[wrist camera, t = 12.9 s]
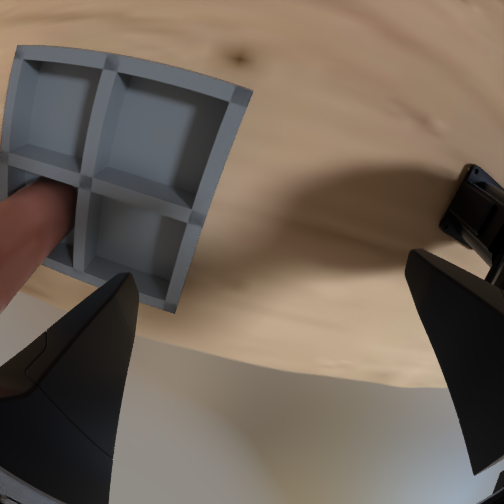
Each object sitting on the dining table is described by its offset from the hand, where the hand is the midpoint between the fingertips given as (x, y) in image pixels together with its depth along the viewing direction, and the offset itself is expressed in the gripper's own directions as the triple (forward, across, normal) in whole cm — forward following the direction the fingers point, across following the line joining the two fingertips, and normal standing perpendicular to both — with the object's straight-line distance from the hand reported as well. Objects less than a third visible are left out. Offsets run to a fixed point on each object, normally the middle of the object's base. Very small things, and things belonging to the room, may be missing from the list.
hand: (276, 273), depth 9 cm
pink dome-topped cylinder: (+13, +16, +1) cm, 21 cm away
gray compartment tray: (+13, +11, -1) cm, 17 cm away
